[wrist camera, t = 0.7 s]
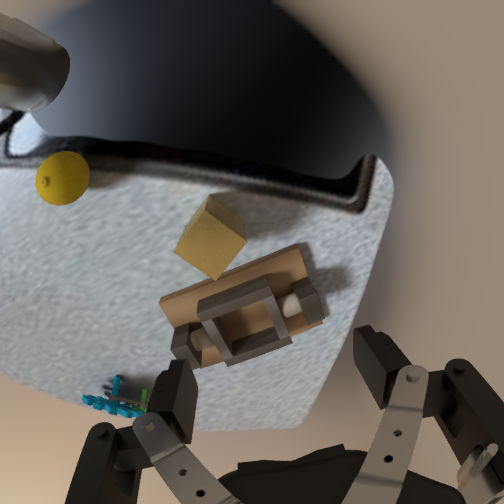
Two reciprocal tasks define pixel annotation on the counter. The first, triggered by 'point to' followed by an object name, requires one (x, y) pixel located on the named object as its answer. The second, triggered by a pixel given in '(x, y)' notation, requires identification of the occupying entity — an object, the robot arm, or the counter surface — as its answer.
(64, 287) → the counter surface
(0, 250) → the counter surface
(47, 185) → the lemon
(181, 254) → the block
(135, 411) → the blue-green animal figure
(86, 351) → the counter surface
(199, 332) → the shaft rig
